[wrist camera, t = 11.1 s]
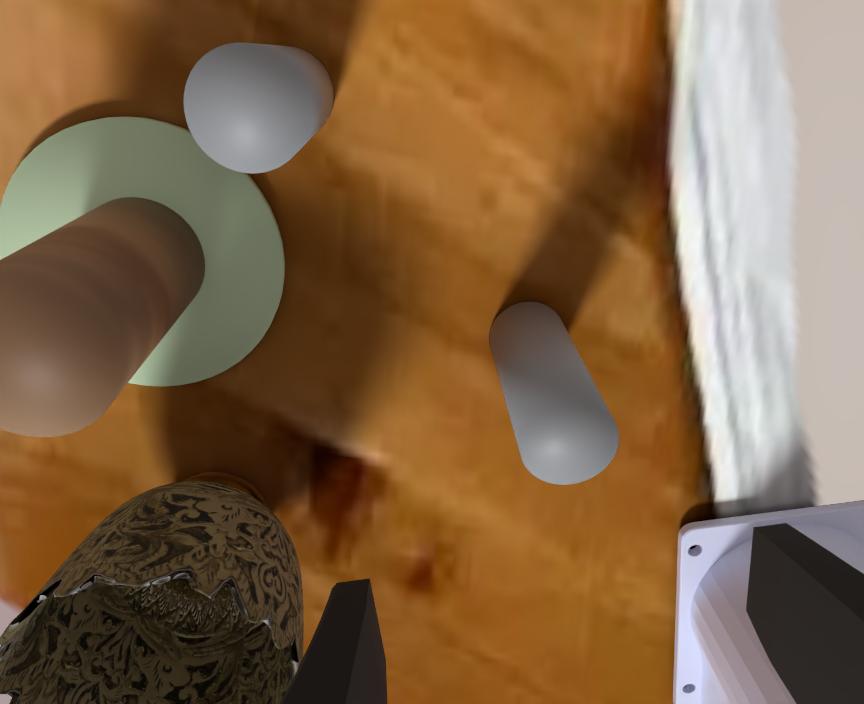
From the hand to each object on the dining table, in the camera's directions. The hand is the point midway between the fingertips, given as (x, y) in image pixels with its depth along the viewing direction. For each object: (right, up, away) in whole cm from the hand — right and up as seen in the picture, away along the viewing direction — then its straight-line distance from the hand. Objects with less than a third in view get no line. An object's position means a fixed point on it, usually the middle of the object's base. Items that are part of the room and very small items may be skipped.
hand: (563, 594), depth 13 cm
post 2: (+1, +5, +9) cm, 11 cm away
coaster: (-11, +7, +8) cm, 15 cm away
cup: (-10, -1, +11) cm, 15 cm away
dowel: (-11, +7, +7) cm, 15 cm away
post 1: (-6, +12, +6) cm, 14 cm away
